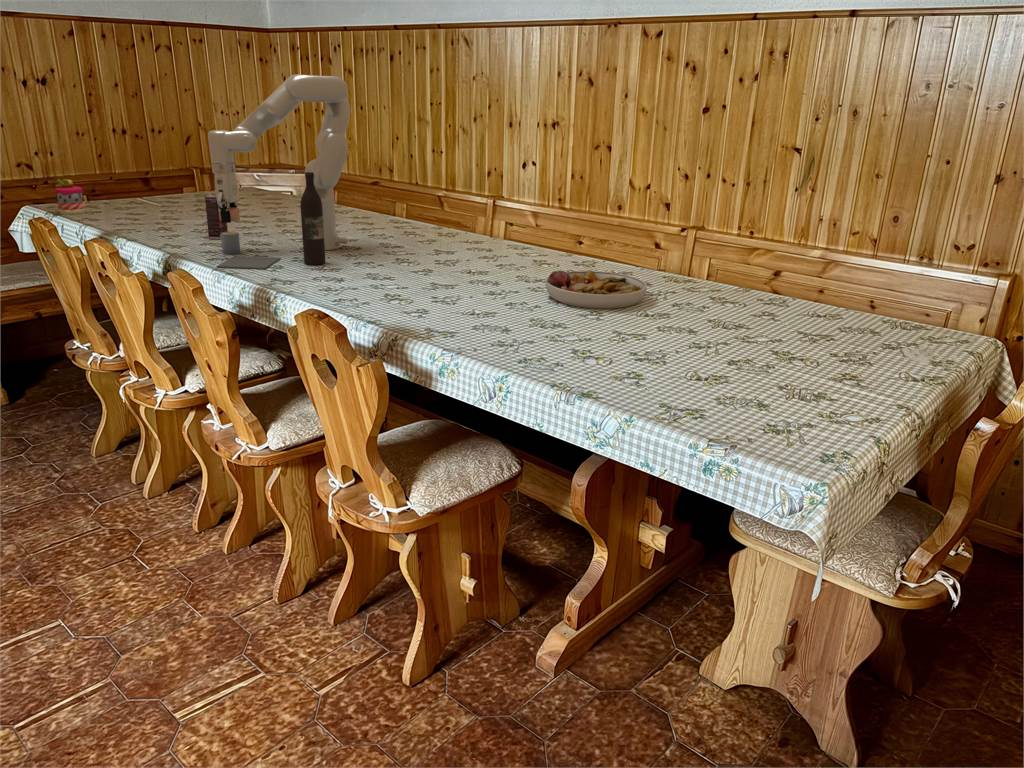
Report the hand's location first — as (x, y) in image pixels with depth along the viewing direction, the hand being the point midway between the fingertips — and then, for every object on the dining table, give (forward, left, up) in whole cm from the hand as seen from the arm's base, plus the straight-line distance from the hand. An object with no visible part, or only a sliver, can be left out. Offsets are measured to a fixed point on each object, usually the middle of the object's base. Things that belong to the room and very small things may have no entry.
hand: (230, 220), depth 275 cm
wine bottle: (-32, +12, -12) cm, 37 cm away
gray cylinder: (+1, 0, -11) cm, 11 cm away
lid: (0, 0, 0) cm, 0 cm away
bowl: (-125, +44, -12) cm, 134 cm away
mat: (-11, +16, -11) cm, 23 cm away
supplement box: (+16, -27, -12) cm, 33 cm away
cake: (+97, -69, -12) cm, 119 cm away
